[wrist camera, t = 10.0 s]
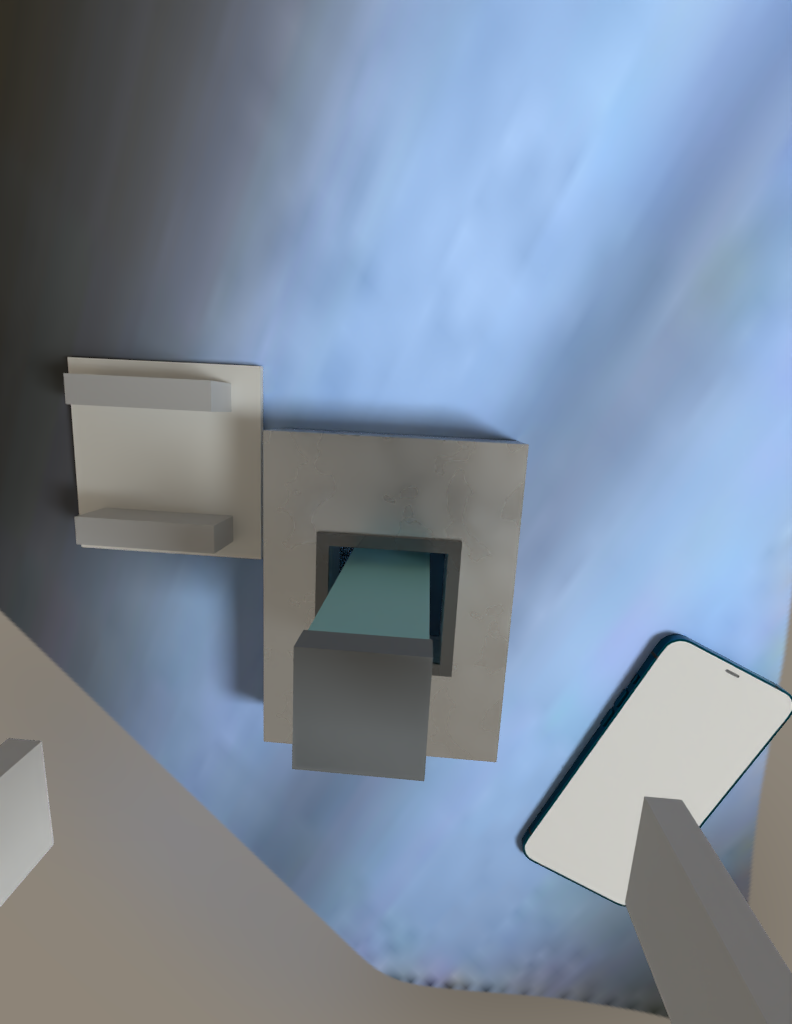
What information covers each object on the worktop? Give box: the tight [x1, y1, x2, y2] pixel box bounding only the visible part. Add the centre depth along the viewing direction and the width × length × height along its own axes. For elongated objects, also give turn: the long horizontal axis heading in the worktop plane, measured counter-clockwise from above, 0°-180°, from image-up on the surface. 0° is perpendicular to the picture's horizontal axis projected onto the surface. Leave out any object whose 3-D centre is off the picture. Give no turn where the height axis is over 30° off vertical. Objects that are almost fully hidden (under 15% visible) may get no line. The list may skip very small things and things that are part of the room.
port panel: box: [263, 428, 529, 762], centre depth 26 cm, size 16×12×3 cm
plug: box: [292, 547, 433, 781], centre depth 21 cm, size 4×4×12 cm
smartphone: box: [522, 634, 792, 906], centre depth 28 cm, size 8×1×16 cm
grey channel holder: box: [63, 357, 263, 559], centre depth 25 cm, size 10×10×3 cm
